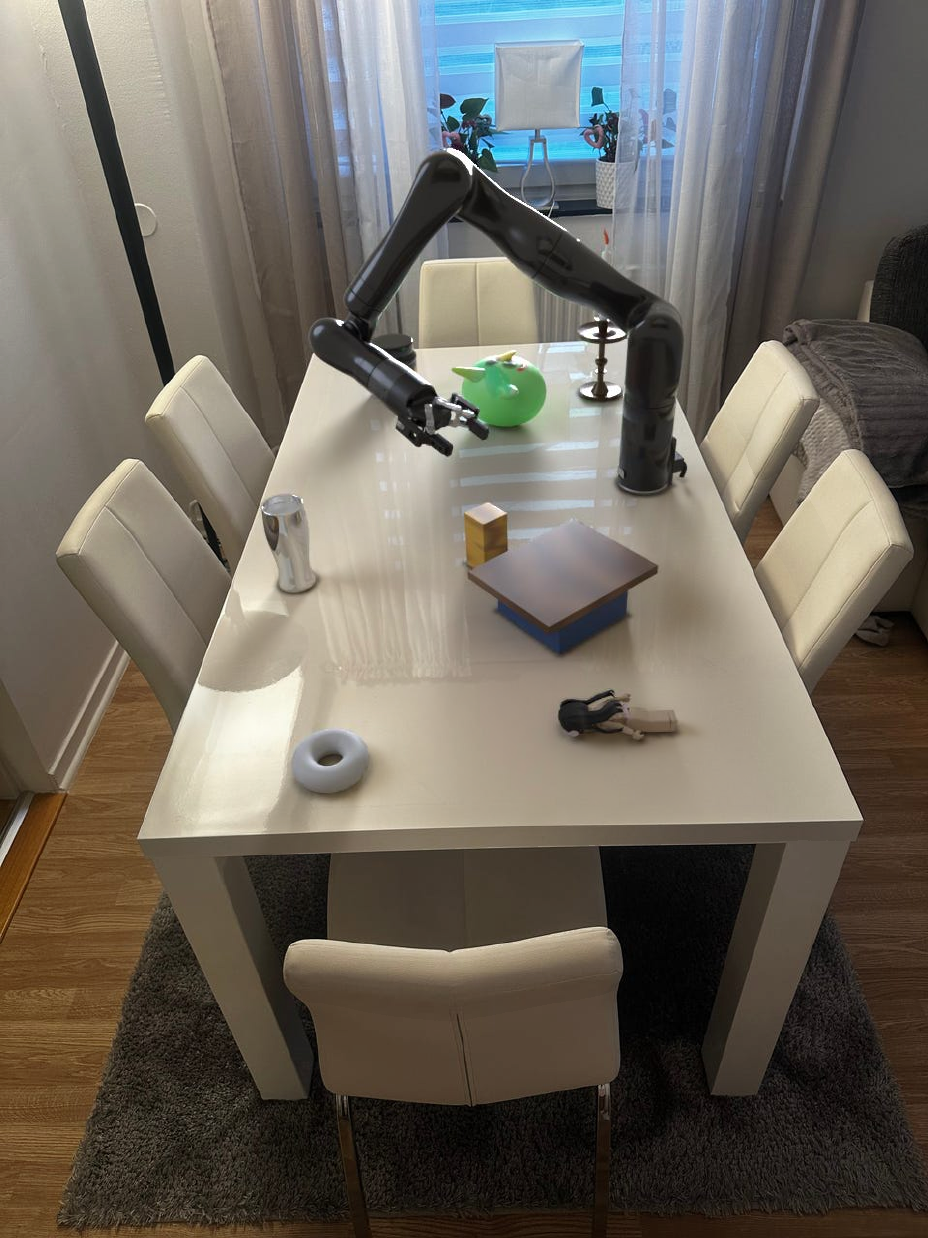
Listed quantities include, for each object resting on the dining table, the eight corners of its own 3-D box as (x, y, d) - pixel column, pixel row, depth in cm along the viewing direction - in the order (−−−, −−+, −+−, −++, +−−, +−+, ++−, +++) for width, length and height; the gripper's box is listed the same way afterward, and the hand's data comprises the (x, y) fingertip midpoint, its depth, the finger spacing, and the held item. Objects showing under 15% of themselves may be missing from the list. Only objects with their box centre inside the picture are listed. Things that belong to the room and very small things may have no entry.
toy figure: (659, 701, 122) (552, 710, 120) (667, 671, 117) (556, 680, 116) (674, 743, 117) (562, 753, 115) (683, 713, 112) (567, 723, 111)
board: (573, 525, 144) (574, 517, 144) (657, 573, 133) (658, 565, 132) (467, 579, 134) (467, 570, 133) (549, 635, 123) (549, 627, 122)
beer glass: (325, 573, 149) (311, 495, 140) (306, 597, 144) (291, 518, 135) (288, 567, 151) (272, 490, 142) (268, 590, 146) (250, 512, 137)
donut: (282, 794, 112) (358, 803, 110) (276, 776, 110) (354, 784, 108) (308, 737, 120) (380, 745, 118) (304, 719, 117) (376, 726, 115)
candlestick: (565, 394, 200) (569, 230, 179) (594, 379, 206) (601, 218, 185) (605, 407, 194) (614, 239, 173) (633, 390, 200) (646, 226, 179)
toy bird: (558, 415, 192) (560, 348, 183) (520, 447, 181) (519, 378, 172) (487, 399, 200) (485, 335, 191) (446, 429, 189) (442, 362, 180)
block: (489, 552, 152) (487, 501, 146) (508, 564, 149) (507, 513, 143) (466, 563, 150) (463, 512, 144) (485, 576, 147) (483, 524, 140)
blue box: (563, 576, 146) (564, 540, 141) (626, 615, 137) (629, 578, 132) (497, 610, 139) (496, 574, 135) (559, 654, 130) (560, 616, 126)
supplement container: (419, 380, 210) (415, 330, 203) (419, 399, 202) (415, 348, 195) (375, 383, 210) (369, 333, 203) (372, 402, 202) (366, 351, 195)
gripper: (373, 382, 142) (443, 438, 136) (435, 360, 150) (504, 411, 145) (366, 421, 147) (434, 476, 142) (427, 397, 156) (493, 448, 150)
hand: (469, 443), depth 143 cm, fingers open, 8 cm apart
